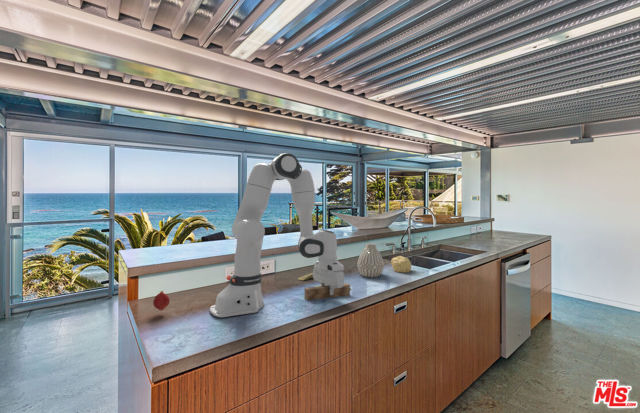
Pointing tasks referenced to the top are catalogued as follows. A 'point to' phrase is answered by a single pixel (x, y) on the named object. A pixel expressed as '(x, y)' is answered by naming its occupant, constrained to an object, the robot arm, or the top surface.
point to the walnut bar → (326, 292)
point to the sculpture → (401, 264)
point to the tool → (306, 277)
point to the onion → (161, 301)
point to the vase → (370, 262)
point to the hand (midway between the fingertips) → (327, 293)
